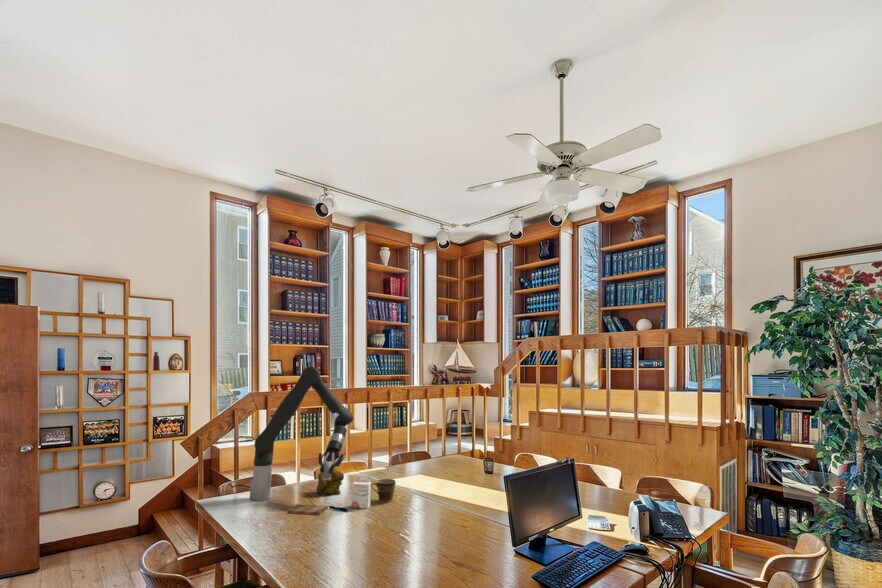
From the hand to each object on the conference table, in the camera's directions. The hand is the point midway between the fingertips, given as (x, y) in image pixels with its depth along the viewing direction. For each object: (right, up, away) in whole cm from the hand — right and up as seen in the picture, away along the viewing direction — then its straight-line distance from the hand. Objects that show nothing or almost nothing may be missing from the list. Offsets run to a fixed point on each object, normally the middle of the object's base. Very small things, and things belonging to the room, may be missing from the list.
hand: (325, 472), depth 241 cm
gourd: (-4, -20, +23) cm, 31 cm away
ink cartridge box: (+18, -17, -2) cm, 25 cm away
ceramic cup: (+28, -18, +8) cm, 34 cm away
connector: (0, -4, +1) cm, 5 cm away
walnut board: (-6, -15, -10) cm, 19 cm away
